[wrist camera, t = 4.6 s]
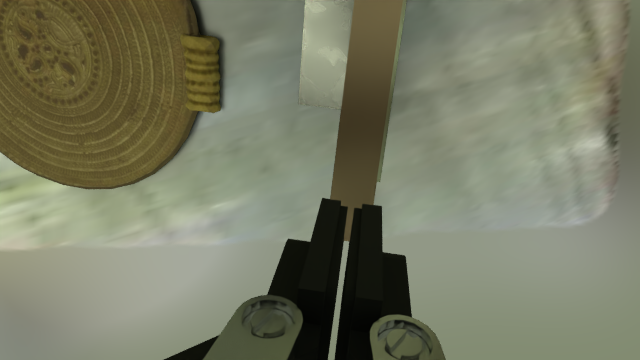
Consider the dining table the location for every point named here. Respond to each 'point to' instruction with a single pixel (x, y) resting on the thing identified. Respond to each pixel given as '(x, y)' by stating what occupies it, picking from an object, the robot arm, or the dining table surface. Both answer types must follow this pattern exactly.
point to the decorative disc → (101, 86)
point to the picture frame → (366, 102)
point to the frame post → (325, 52)
